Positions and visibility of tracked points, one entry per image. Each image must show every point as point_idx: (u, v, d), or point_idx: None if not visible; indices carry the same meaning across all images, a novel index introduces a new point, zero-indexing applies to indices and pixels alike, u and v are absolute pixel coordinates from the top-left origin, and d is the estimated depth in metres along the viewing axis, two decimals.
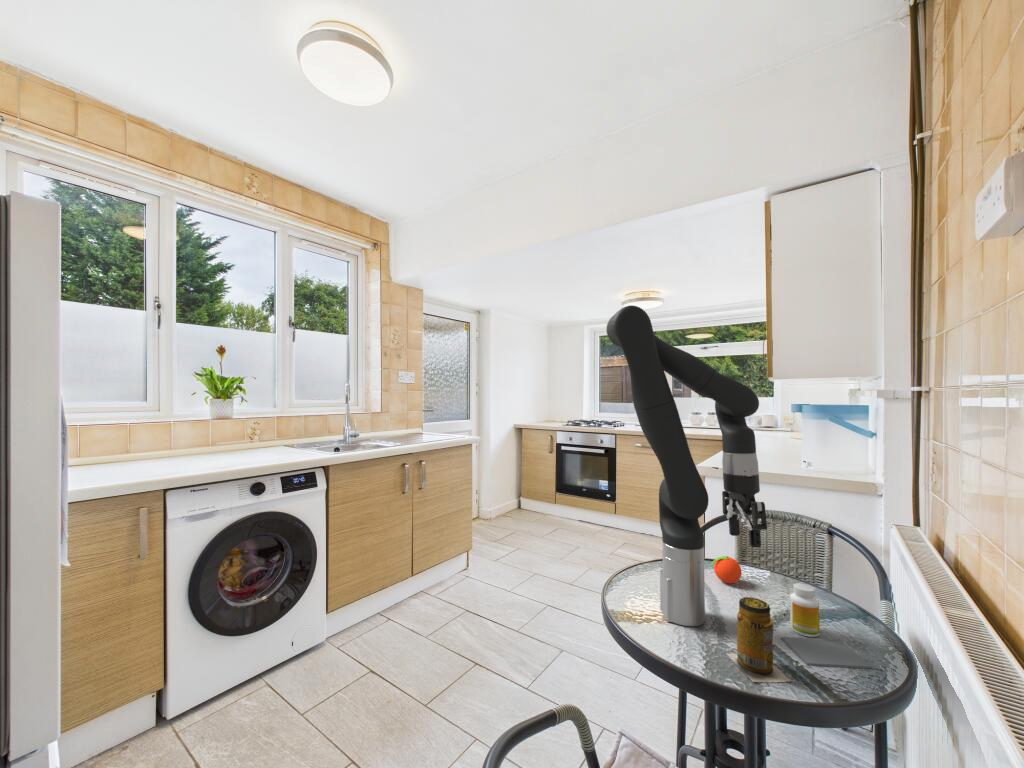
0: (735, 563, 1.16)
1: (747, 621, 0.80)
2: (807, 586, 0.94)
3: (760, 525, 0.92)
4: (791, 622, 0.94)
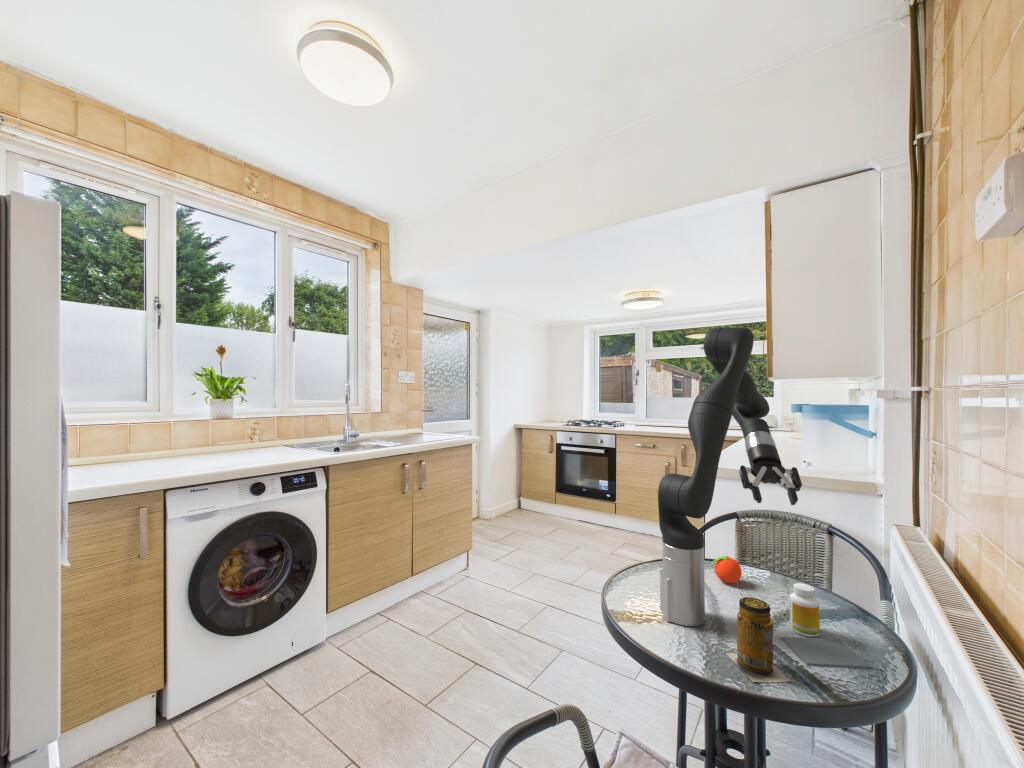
0: (735, 563, 1.16)
1: (747, 621, 0.80)
2: (807, 586, 0.94)
3: None
4: (791, 622, 0.94)
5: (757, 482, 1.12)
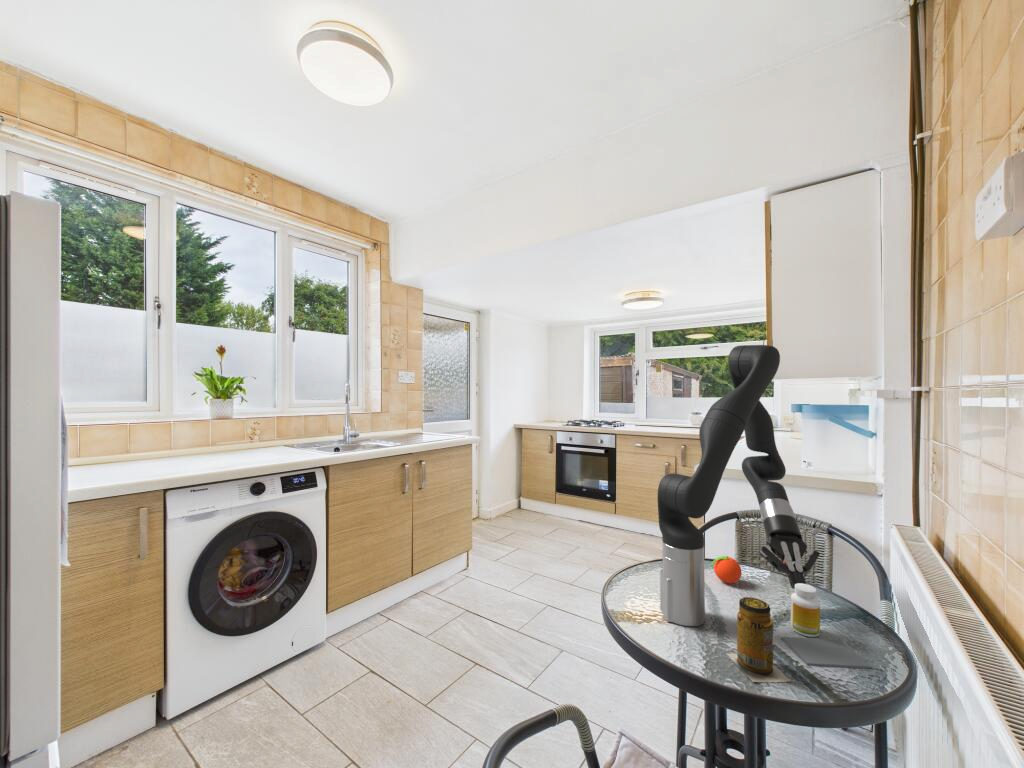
0: (735, 563, 1.16)
1: (747, 621, 0.80)
2: (808, 586, 0.93)
3: None
4: (791, 622, 0.94)
5: (791, 564, 0.99)
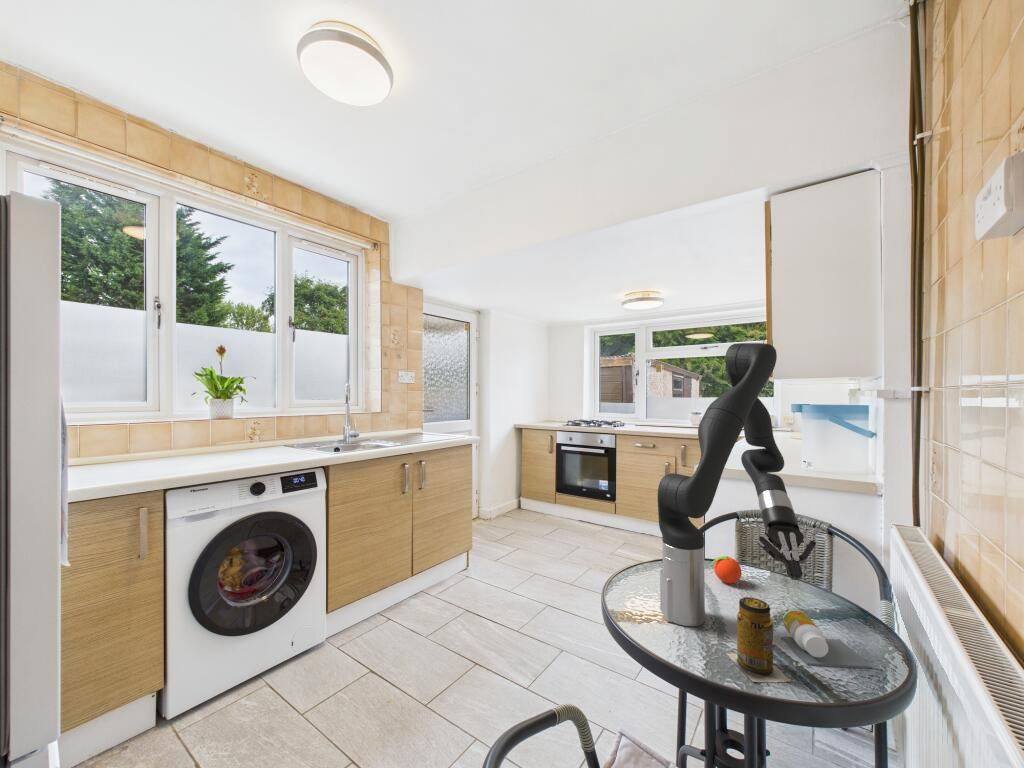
0: (735, 563, 1.16)
1: (747, 621, 0.80)
2: (817, 641, 0.82)
3: None
4: None
5: (788, 554, 1.01)
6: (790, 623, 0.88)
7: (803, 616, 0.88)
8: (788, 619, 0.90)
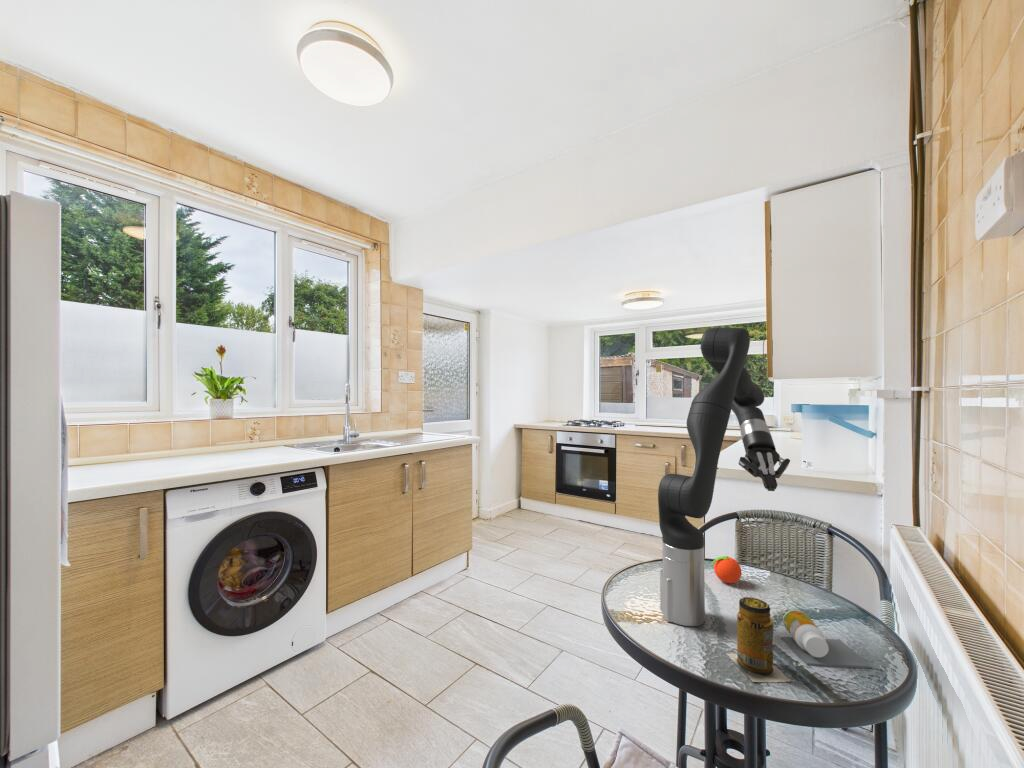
0: (735, 563, 1.16)
1: (747, 621, 0.80)
2: (817, 641, 0.82)
3: None
4: None
5: (765, 469, 1.13)
6: (791, 623, 0.88)
7: (803, 616, 0.88)
8: (788, 619, 0.90)
